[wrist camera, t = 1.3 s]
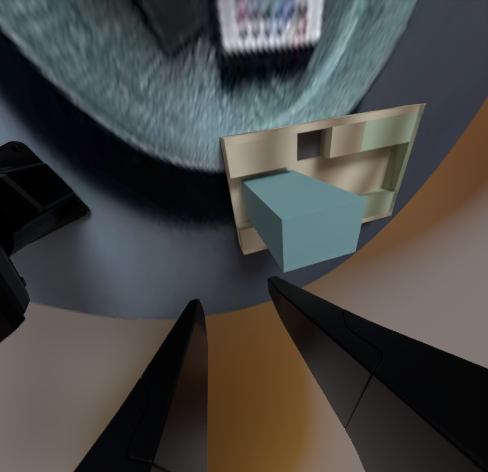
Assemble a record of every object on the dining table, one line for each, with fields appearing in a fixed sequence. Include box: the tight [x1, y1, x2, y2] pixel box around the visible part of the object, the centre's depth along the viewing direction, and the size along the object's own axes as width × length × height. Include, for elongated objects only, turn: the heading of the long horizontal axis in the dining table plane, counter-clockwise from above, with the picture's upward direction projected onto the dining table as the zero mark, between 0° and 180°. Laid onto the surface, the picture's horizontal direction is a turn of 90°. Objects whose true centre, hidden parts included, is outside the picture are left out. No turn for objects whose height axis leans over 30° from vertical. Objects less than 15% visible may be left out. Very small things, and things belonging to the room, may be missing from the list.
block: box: [241, 169, 367, 272], centre depth 16 cm, size 6×4×10 cm
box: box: [220, 103, 426, 255], centre depth 20 cm, size 20×12×2 cm, turn 98°
